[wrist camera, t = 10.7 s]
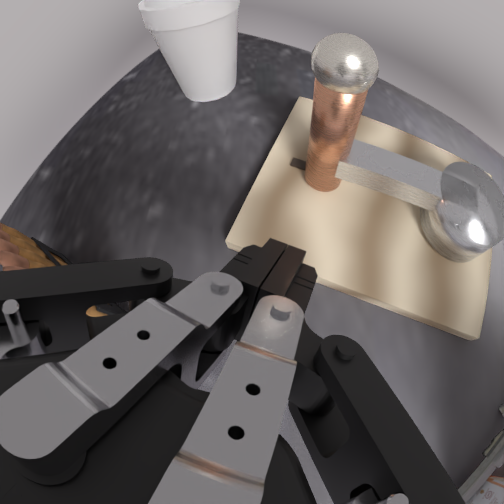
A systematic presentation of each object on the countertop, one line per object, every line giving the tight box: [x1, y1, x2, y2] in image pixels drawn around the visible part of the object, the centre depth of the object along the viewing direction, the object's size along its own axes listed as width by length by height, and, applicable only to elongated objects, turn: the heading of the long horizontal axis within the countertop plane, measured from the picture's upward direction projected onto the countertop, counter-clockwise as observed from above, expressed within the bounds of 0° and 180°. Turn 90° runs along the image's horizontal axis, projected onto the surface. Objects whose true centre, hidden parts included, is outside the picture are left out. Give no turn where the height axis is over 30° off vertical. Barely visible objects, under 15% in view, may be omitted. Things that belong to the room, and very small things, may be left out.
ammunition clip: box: [0, 223, 125, 317], centre depth 18 cm, size 11×2×12 cm, turn 57°
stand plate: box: [225, 96, 492, 341], centre depth 23 cm, size 22×17×2 cm
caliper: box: [458, 404, 504, 503], centre depth 12 cm, size 20×1×6 cm, turn 141°
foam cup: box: [138, 0, 240, 102], centre depth 25 cm, size 10×9×13 cm
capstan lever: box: [305, 33, 504, 263], centre depth 16 cm, size 17×7×13 cm, turn 70°
